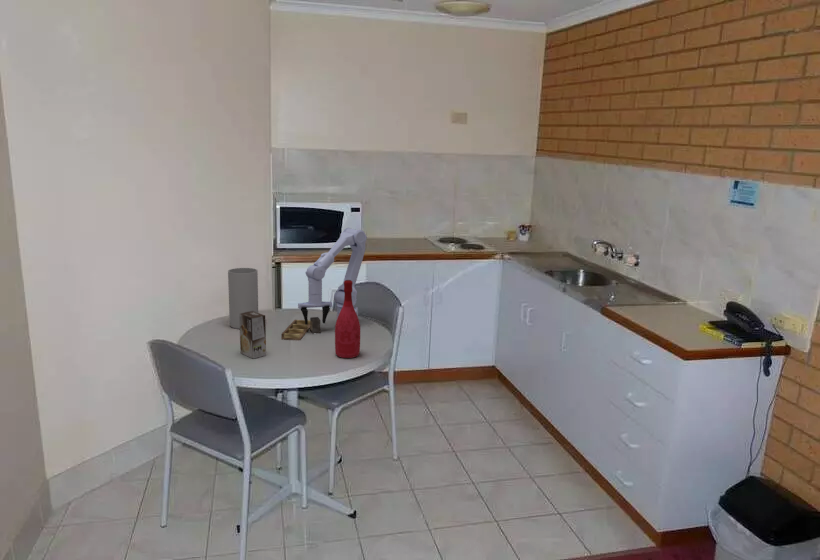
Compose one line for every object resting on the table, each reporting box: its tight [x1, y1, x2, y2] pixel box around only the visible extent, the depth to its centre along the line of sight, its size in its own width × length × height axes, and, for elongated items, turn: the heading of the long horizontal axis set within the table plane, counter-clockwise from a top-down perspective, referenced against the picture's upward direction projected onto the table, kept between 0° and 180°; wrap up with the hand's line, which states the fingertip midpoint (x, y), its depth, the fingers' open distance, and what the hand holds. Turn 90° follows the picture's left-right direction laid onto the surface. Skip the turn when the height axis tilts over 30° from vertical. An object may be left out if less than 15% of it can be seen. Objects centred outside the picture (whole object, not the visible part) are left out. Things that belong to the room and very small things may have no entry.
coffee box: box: [239, 311, 267, 359], centre depth 242 cm, size 9×6×16 cm
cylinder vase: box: [227, 267, 259, 330], centre depth 278 cm, size 12×12×25 cm
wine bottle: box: [334, 280, 361, 359], centre depth 243 cm, size 10×10×30 cm
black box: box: [309, 316, 321, 335], centre depth 274 cm, size 4×5×6 cm
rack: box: [280, 319, 310, 341], centre depth 273 cm, size 8×22×2 cm, turn 176°
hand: (315, 323), depth 274 cm, fingers open, 7 cm apart
